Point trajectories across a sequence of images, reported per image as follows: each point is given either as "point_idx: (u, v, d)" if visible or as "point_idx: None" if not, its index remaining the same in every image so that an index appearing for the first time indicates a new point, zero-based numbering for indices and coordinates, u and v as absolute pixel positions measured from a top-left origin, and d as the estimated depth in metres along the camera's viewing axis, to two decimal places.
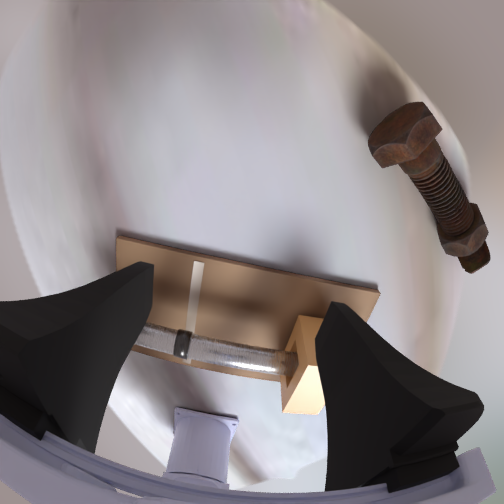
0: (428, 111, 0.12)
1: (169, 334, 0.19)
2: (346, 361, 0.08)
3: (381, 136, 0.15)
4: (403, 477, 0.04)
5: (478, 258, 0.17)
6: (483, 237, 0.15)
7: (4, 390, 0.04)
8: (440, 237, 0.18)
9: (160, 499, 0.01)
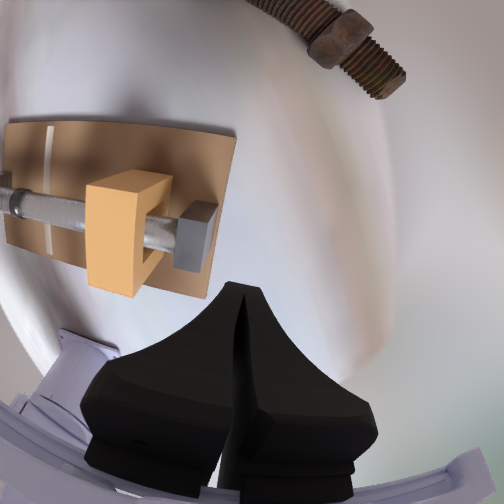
0: None
1: (11, 190, 0.14)
2: (240, 347, 0.08)
3: None
4: (253, 490, 0.04)
5: (377, 65, 0.12)
6: (362, 28, 0.10)
7: (139, 457, 0.04)
8: (307, 50, 0.13)
9: (160, 499, 0.01)
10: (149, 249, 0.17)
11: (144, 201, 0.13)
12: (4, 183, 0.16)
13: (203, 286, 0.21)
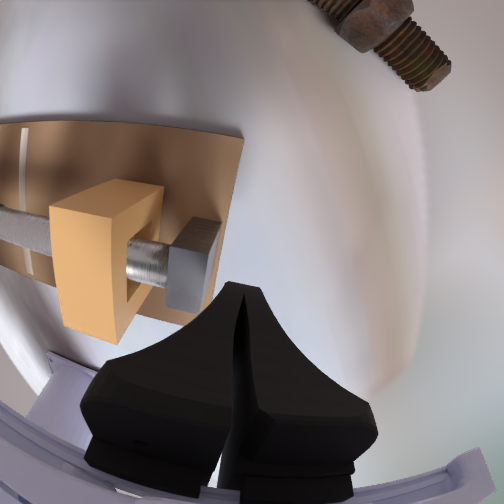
0: None
1: None
2: (240, 347, 0.08)
3: None
4: (253, 490, 0.04)
5: (421, 49, 0.08)
6: (404, 4, 0.07)
7: (139, 456, 0.04)
8: (336, 29, 0.09)
9: (160, 499, 0.01)
10: None
11: (123, 226, 0.10)
12: None
13: None
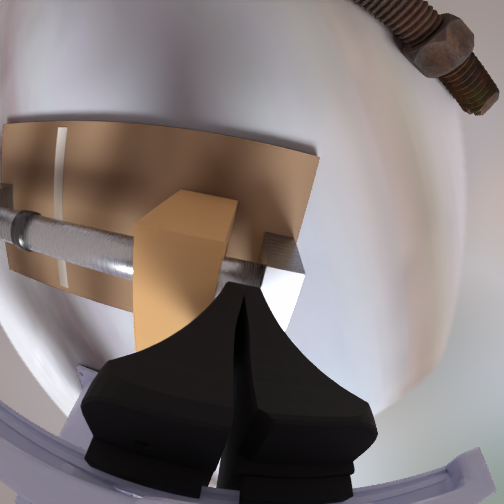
0: None
1: (12, 214, 0.11)
2: (240, 347, 0.08)
3: None
4: (253, 490, 0.04)
5: (479, 80, 0.08)
6: (469, 38, 0.07)
7: (140, 457, 0.04)
8: (408, 53, 0.10)
9: (160, 499, 0.01)
10: None
11: (224, 247, 0.10)
12: (3, 199, 0.13)
13: None
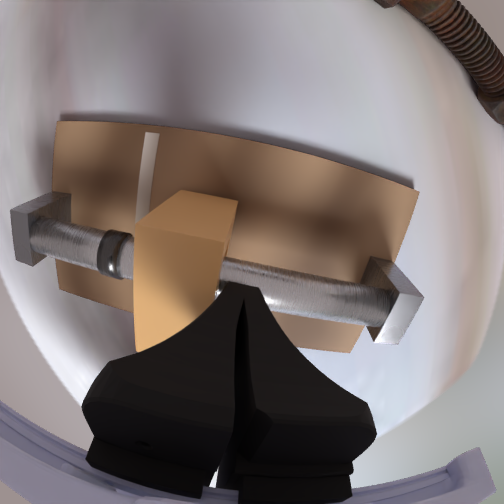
0: None
1: (94, 234, 0.11)
2: (239, 347, 0.08)
3: None
4: (252, 490, 0.04)
5: None
6: None
7: (141, 457, 0.04)
8: (487, 103, 0.10)
9: (160, 499, 0.01)
10: None
11: (225, 247, 0.10)
12: (61, 212, 0.13)
13: (352, 341, 0.18)
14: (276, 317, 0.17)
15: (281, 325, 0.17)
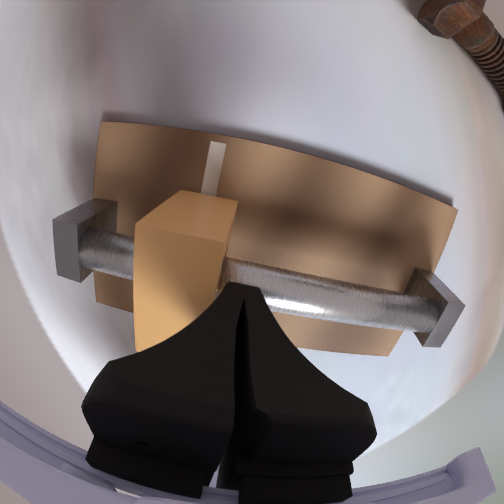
0: None
1: None
2: (240, 347, 0.08)
3: (433, 8, 0.08)
4: (252, 490, 0.04)
5: None
6: None
7: (141, 457, 0.04)
8: None
9: (160, 499, 0.01)
10: None
11: (225, 248, 0.10)
12: (108, 222, 0.14)
13: (391, 345, 0.18)
14: (328, 326, 0.17)
15: (331, 333, 0.17)
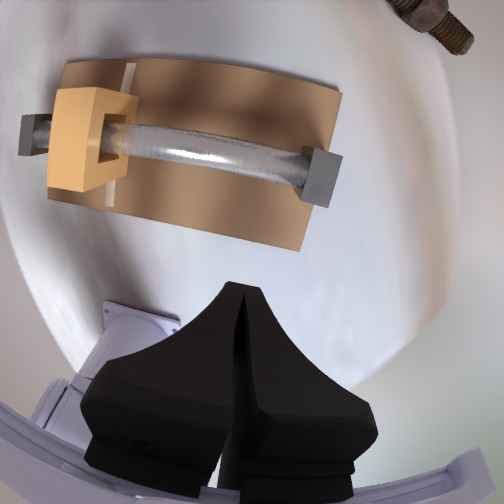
0: None
1: None
2: (241, 347, 0.08)
3: None
4: (254, 490, 0.04)
5: (457, 29, 0.10)
6: (444, 1, 0.09)
7: (139, 456, 0.04)
8: (405, 17, 0.12)
9: (160, 499, 0.01)
10: (109, 159, 0.15)
11: (103, 99, 0.12)
12: None
13: (299, 237, 0.20)
14: (222, 205, 0.19)
15: (228, 213, 0.19)
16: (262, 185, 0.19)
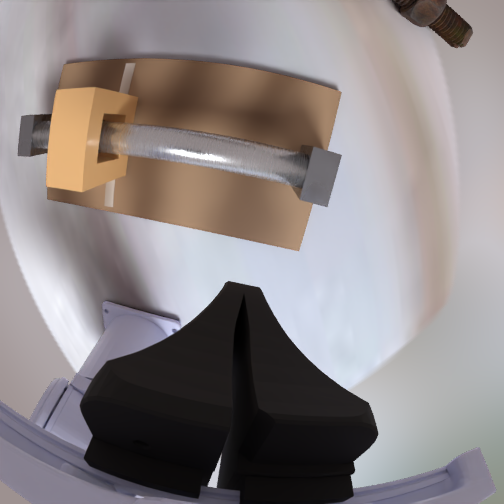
0: None
1: None
2: (240, 347, 0.08)
3: None
4: (253, 490, 0.04)
5: (456, 21, 0.10)
6: None
7: (139, 456, 0.04)
8: (405, 12, 0.12)
9: (160, 499, 0.01)
10: (108, 159, 0.15)
11: (102, 99, 0.12)
12: None
13: (298, 236, 0.20)
14: (222, 204, 0.19)
15: (227, 213, 0.19)
16: (261, 184, 0.19)
